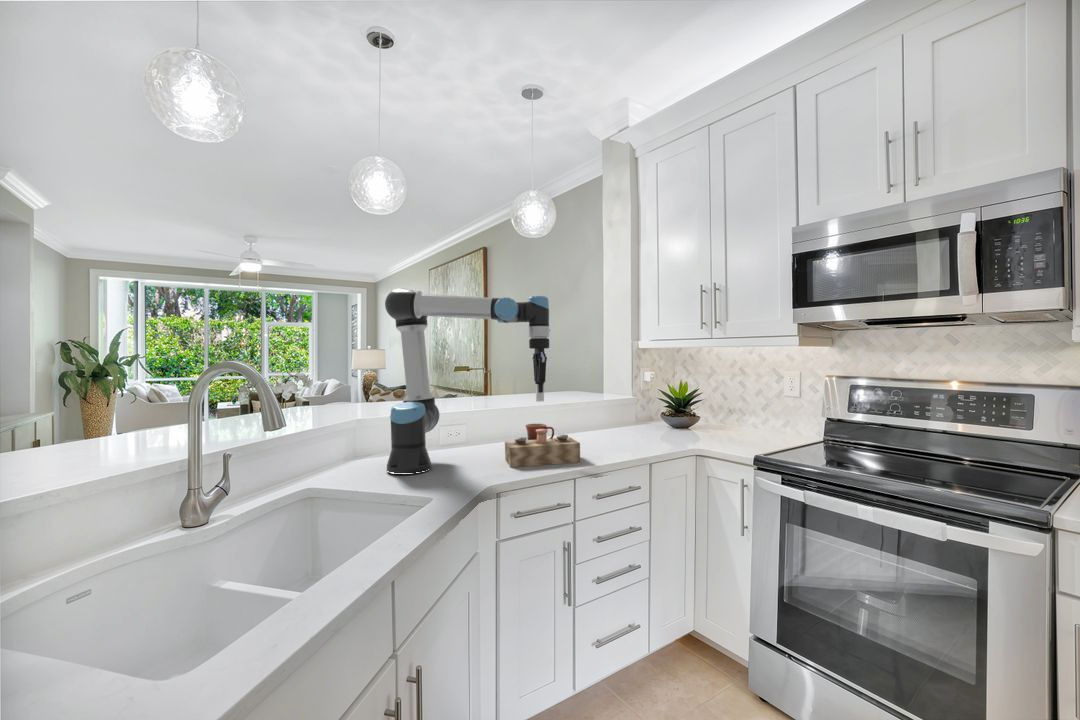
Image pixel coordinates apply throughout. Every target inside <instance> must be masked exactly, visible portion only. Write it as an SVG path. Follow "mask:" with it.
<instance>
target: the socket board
mask: <svg viewBox="0 0 1080 720" xmlns="http://www.w3.org/2000/svg"><path fill="white" fill-rule="evenodd" d="M504 457H505V458H504V460H505V462H506V463H507V465H508V466H509V468H520V467H533V466H544V465H545V466H546V465H547V466H548V465H549V466H550V465H557V464H558V465H560V464H572V463H573V464H574V463H581V442H579V441H577V440H575V439H573V438H572V437H568V438H567V442H559V443H558V438H554V437H553V438H552V439H549V438H547V443H543V444H537V440H526V445H516V441H515V440H510V441H509V440H508V441H504Z"/></svg>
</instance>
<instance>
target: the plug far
mask: <svg viewBox="0 0 1080 720" xmlns="http://www.w3.org/2000/svg"><path fill="white" fill-rule="evenodd" d="M556 438H558V443H559V442H567V438H569V435H568V434H556Z"/></svg>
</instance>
